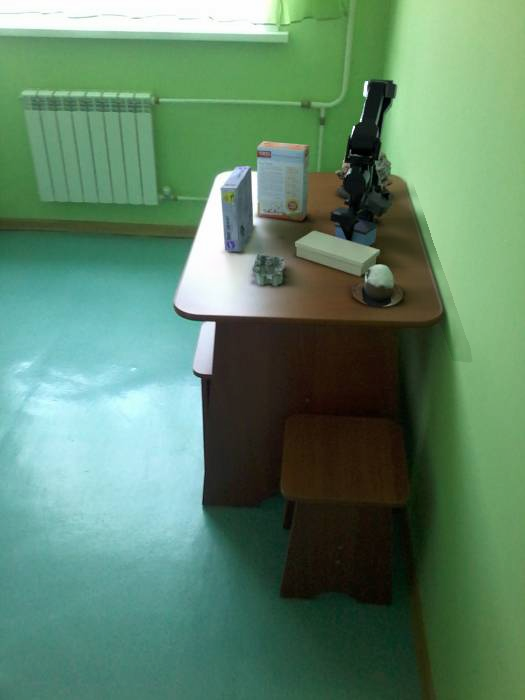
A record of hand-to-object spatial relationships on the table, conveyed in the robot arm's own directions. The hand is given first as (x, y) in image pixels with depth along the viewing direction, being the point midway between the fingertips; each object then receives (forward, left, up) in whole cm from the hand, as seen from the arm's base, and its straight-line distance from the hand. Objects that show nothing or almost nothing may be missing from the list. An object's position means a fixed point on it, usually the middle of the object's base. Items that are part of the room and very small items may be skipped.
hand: (355, 237), depth 169 cm
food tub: (0, 0, -1) cm, 1 cm away
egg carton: (+29, -8, -2) cm, 30 cm away
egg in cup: (+21, +18, -2) cm, 28 cm away
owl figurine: (-33, -16, -2) cm, 37 cm away
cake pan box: (+16, -28, -2) cm, 32 cm away
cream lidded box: (+12, +1, -2) cm, 12 cm away
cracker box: (-4, -27, -2) cm, 27 cm away
